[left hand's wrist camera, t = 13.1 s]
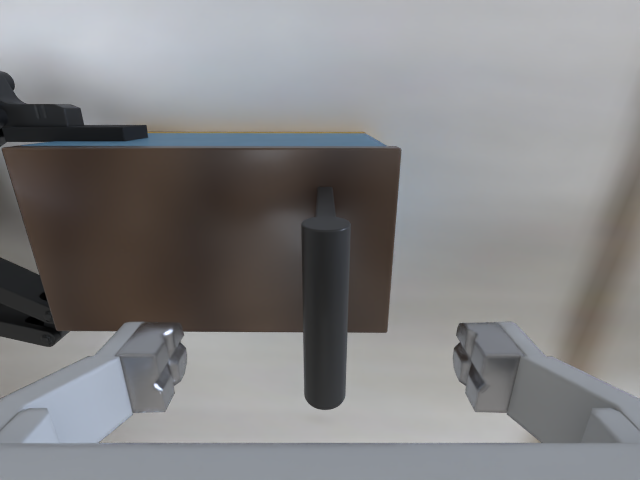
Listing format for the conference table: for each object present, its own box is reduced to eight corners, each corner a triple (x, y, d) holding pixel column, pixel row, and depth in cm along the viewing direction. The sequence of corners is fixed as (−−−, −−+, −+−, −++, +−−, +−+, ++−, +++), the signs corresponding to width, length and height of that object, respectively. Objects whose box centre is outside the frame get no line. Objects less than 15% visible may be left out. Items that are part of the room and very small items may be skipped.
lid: (397, 146, 17) (455, 174, 9) (384, 322, 20) (419, 445, 13) (18, 145, 17) (-216, 173, 10) (68, 321, 20) (-76, 441, 13)
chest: (364, 132, 27) (388, 145, 17) (359, 251, 30) (376, 322, 20) (132, 131, 27) (18, 145, 17) (152, 250, 30) (68, 321, 20)
